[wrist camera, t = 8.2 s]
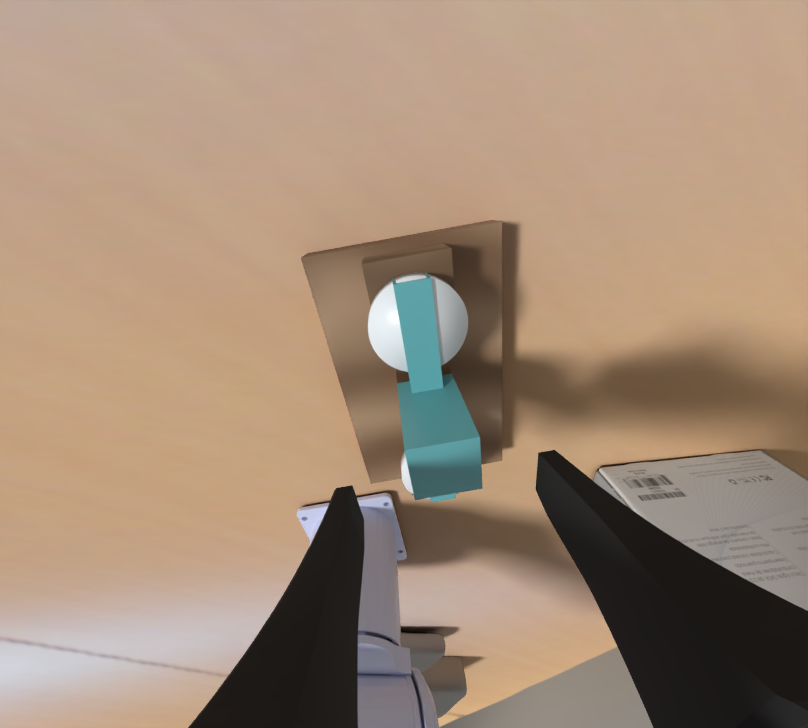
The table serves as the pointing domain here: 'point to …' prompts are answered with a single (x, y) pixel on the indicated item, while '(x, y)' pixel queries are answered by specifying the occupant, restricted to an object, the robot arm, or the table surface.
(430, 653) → the emblem
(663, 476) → the hard drive box
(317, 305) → the display stand
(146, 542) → the table surface
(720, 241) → the table surface
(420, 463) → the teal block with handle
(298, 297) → the table surface
